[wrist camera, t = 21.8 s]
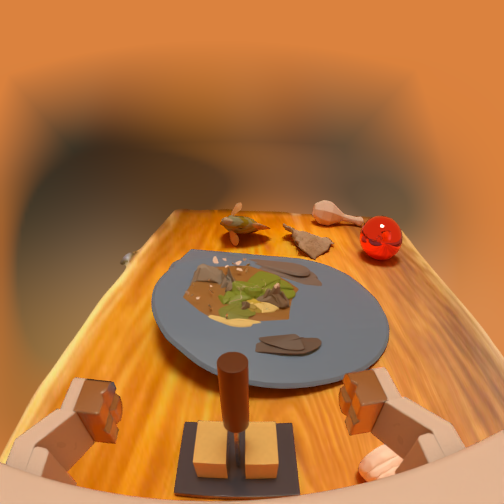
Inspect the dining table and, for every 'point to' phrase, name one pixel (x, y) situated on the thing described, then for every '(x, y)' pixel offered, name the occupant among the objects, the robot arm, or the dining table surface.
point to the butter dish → (224, 462)
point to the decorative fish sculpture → (240, 224)
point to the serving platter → (270, 317)
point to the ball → (381, 237)
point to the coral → (309, 242)
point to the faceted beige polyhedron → (332, 214)
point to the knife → (234, 394)
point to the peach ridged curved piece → (379, 464)
